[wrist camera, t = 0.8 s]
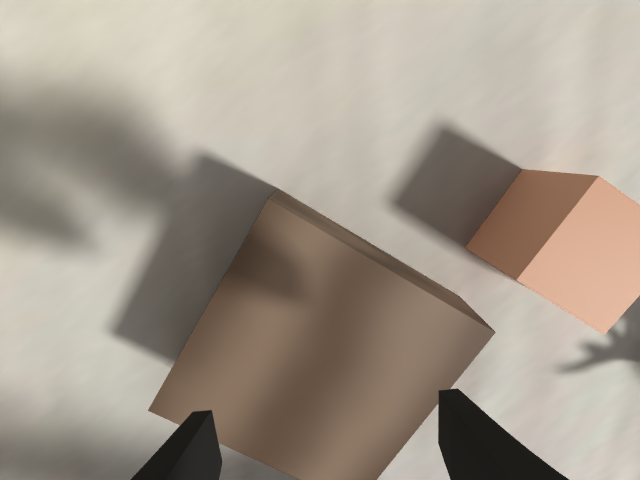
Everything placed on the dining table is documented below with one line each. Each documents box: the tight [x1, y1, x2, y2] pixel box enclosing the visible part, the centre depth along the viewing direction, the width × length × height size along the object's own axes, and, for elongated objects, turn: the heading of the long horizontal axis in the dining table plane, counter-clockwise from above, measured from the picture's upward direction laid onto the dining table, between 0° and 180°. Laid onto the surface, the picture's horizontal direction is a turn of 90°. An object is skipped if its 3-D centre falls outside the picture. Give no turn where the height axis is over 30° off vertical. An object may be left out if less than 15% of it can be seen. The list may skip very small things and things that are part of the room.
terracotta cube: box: [465, 169, 640, 335], centre depth 16 cm, size 5×5×5 cm
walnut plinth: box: [148, 189, 495, 480], centre depth 18 cm, size 12×12×4 cm
